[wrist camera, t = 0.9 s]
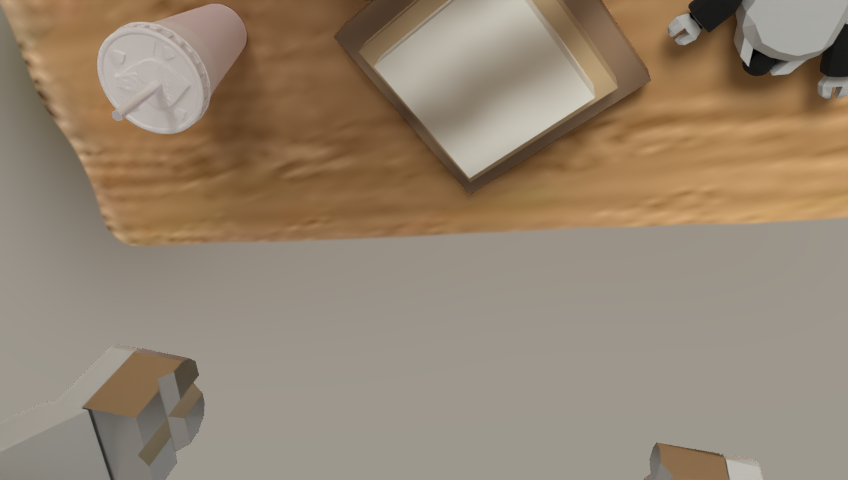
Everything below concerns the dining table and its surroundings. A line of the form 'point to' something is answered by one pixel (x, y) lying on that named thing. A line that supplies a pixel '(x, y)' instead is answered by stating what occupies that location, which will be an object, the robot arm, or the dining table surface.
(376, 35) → the square stepped pedestal
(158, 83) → the smoothie
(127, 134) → the dining table surface
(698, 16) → the robot toy
